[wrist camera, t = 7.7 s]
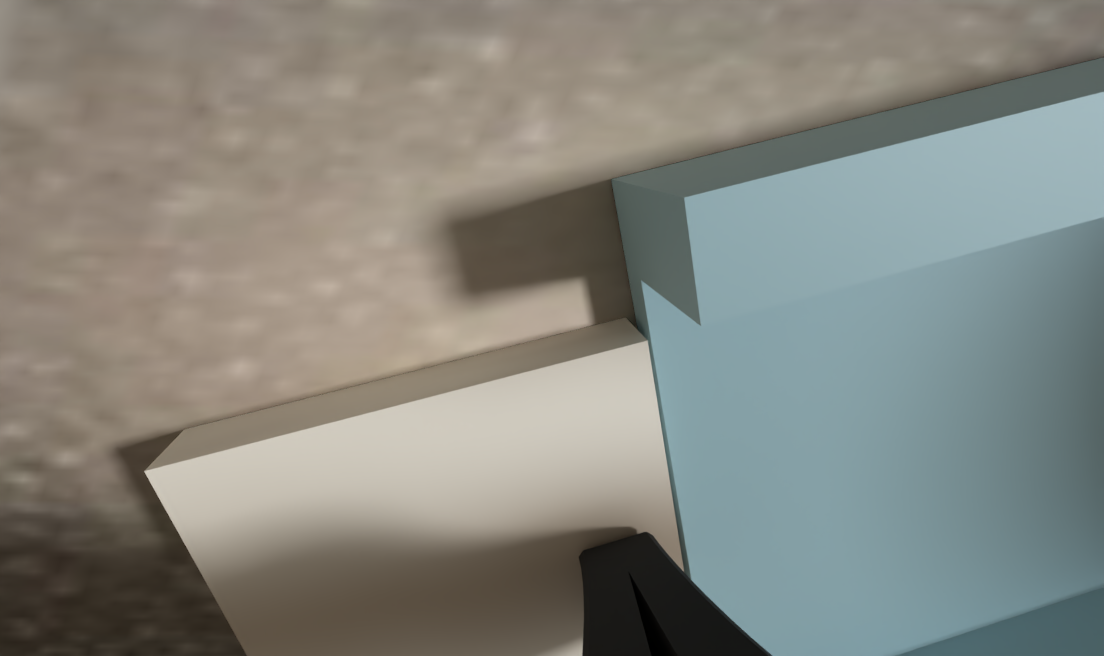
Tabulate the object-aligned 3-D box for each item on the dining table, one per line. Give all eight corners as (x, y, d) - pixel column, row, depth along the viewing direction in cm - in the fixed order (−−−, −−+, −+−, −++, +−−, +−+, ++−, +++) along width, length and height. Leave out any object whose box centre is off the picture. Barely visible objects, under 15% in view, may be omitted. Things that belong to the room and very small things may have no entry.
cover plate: (676, 642, 14) (706, 713, 12) (358, 740, 13) (343, 829, 11) (618, 308, 11) (647, 340, 9) (197, 415, 10) (143, 470, 8)
